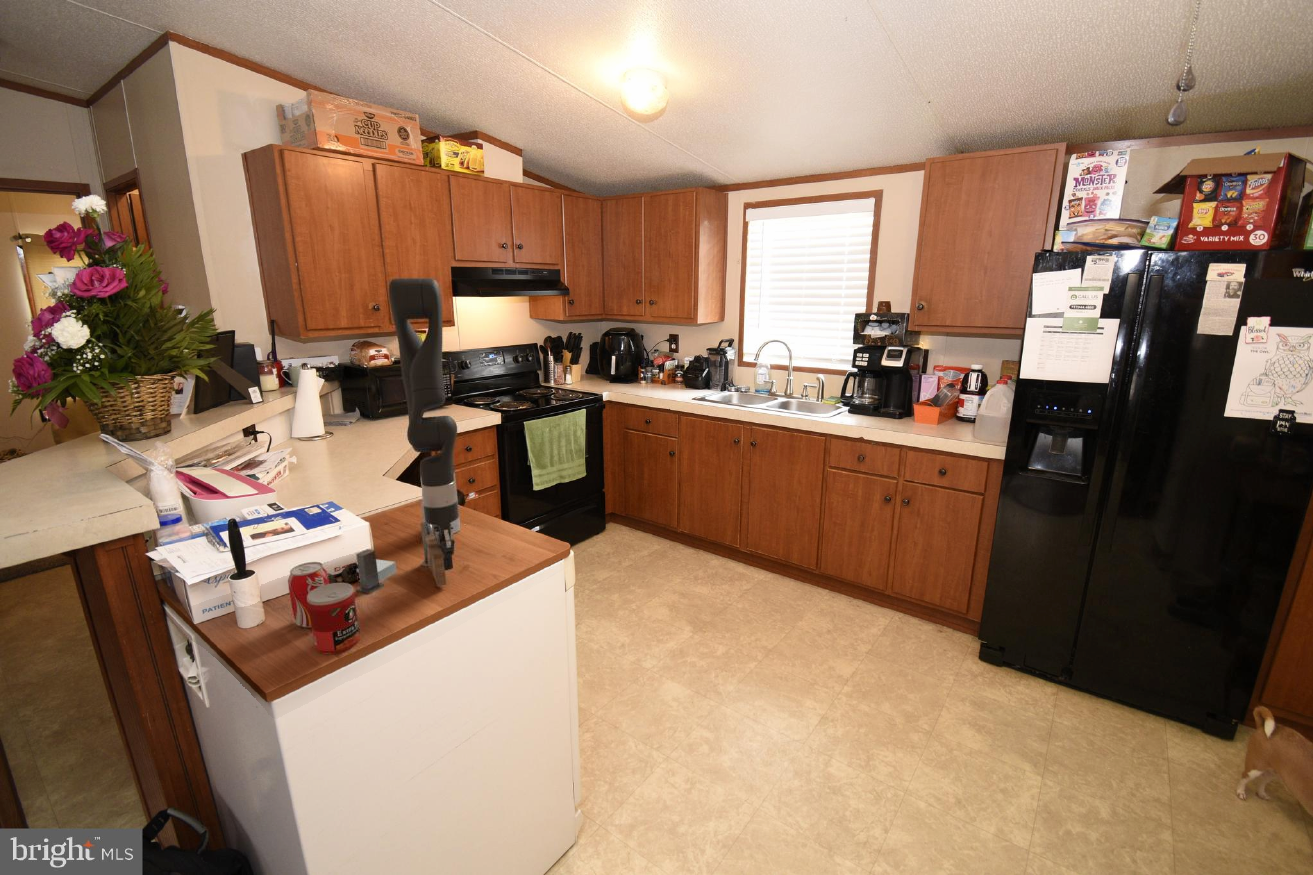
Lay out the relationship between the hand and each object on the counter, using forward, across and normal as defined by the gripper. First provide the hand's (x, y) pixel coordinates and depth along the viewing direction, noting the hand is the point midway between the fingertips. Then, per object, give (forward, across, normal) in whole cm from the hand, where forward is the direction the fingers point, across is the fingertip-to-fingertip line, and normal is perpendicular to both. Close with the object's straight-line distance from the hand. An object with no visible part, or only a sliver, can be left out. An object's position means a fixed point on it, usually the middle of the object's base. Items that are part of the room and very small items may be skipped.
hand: (447, 568), depth 136 cm
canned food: (+2, -18, +24) cm, 30 cm away
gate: (+1, +1, +3) cm, 3 cm away
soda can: (+2, -6, +28) cm, 29 cm away
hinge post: (+2, +10, +3) cm, 10 cm away
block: (+2, +9, +15) cm, 18 cm away
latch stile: (+2, +3, +17) cm, 17 cm away
